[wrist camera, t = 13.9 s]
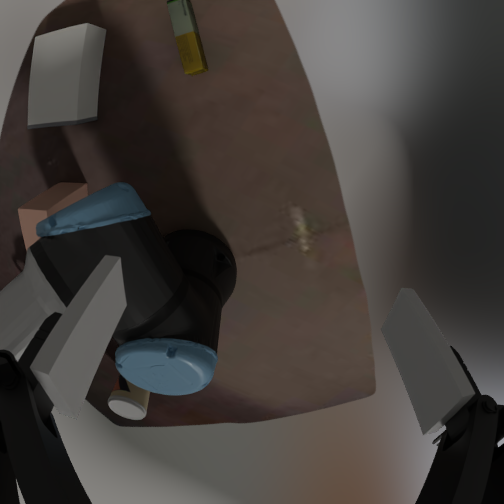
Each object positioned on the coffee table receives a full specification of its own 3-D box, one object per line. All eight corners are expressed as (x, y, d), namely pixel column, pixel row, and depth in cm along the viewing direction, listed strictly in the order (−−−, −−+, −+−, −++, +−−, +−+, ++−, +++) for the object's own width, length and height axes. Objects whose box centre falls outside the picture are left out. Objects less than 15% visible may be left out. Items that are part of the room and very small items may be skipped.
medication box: (173, 7, 29) (165, 0, 25) (191, 2, 29) (185, -7, 25) (191, 76, 35) (184, 74, 31) (209, 71, 34) (204, 68, 31)
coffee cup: (133, 355, 62) (119, 395, 51) (163, 376, 65) (153, 416, 55) (114, 367, 64) (100, 404, 54) (142, 386, 68) (132, 423, 57)
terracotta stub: (90, 221, 45) (54, 256, 35) (63, 219, 45) (26, 251, 34) (87, 183, 42) (46, 210, 31) (59, 182, 41) (17, 208, 31)
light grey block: (97, 119, 37) (77, 124, 31) (49, 123, 36) (27, 129, 31) (107, 29, 29) (87, 22, 24) (56, 40, 29) (35, 36, 23)
